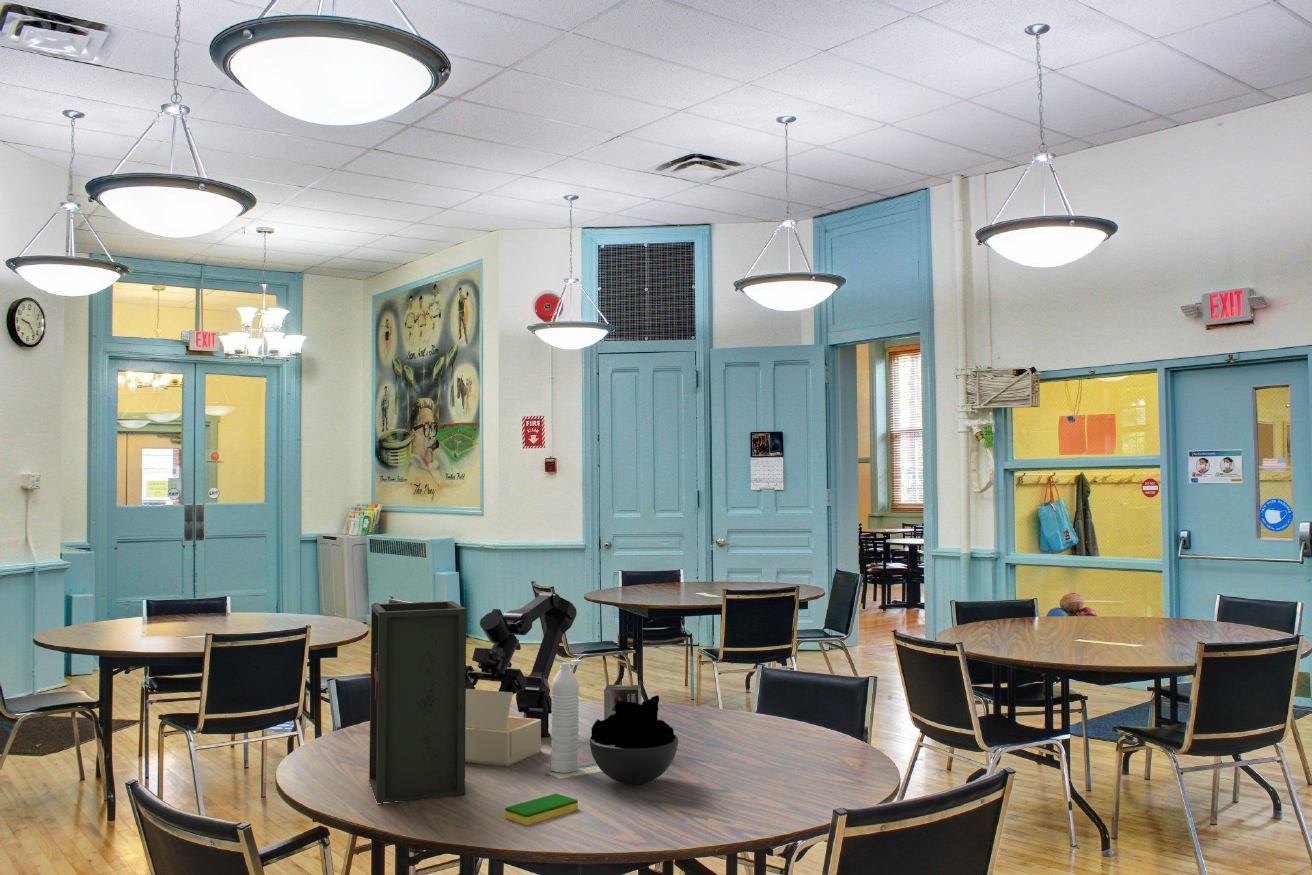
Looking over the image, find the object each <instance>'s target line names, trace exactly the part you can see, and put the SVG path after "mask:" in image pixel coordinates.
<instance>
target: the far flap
mask: <svg viewBox="0 0 1312 875" xmlns="http://www.w3.org/2000/svg"><path fill="white" fill-rule="evenodd" d="M513 696H514V695H513V693H512V692H500V691H498V690H485V689H477V688H475V689H466V721H465V727H475V728H485V729H495V730H506V725H507V721H508V716H509V715H510V710H511V704H512V701H513Z"/></svg>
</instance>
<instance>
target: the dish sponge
mask: <svg viewBox="0 0 1312 875" xmlns="http://www.w3.org/2000/svg"><path fill="white" fill-rule="evenodd" d="M578 801H579V800H578V799H576V798H573V797H570V796H566V795H563V794H559V793H553V794H549V795H546V796H542V797H539V798H535V799H532V800H528V801H524V802H520V803H516V804H513V805H509V806H505V807H504V810H505V811H504V818H505V819H507V820H509V821H513V822H515V823H516V822H517V823H519V824H522V825H526V826H528V825H532V824H534V823H537V822H542V821H544V820H549V819H552V818H554V817H557V816H561V815H564V814H565V815H566V814H567V813H570V812H571V813H572V812H574V811H578V808H579V807H578Z"/></svg>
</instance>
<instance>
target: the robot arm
mask: <svg viewBox="0 0 1312 875" xmlns="http://www.w3.org/2000/svg"><path fill="white" fill-rule="evenodd" d="M543 615H544V617H543V619H544V623H545V626H546V627H545V628H546V629H545V632H544V634H543V638H542V639H541V642H540V646H539V649H538V652H537V655H536V657H535V661H534V664H533V666H532V670H531V672H530V673H529V675H524V674H523V672H522V670H521V669H520V668H512V665H513V664H512V662H511V661H512V657H513V656H514V654H515V651H521V649H522V648H521V647H522V646H521V644H520V640H519V639H518V638H517V636H526V635H527V634H528V633H529V632H530V630H531V629H533V623H534V622H535V621H536V620H538V619H539V618H541V617H542V616H543ZM576 617H577V608H576V606H575V605H574V604H573V603H572V602H571V601H569V600H567V599H565V598H564V597H561V596H560V595H559V594H558V593H556V592H551V591H550V592H547V591H546V592H544V591H543V592H540V593H539V594H538V596H537V597H535V598H534V599H532V600H531V601H530V602H528V603H526V604H525V605H524V606H522V607H520V608H518V609H513V610H509V611H506V612H504V613H503V612H502V611H501V609H500V608H493V609H491V612H488V613H486V614H484V616H483V617H481V618H480V620H479V627H480V628H481V630H482V631H483V633H484V635H485V636H486V638H487V639H488V640H489V642H491V643H493V645H492V647H491V648H488V647H474V651H473V654H472V660H471V661H472V662H476V663H478V664H477V667H478V668H479V669H480V670H479V671H477V670H475V668H474V667H473V666H472V665H467V664H466V689H476V687H475V686H476V685H477V684H478V683H479V682H478V681H489V682H496V683H500V687H499V688H498V690H497V691H500V692H512V693H513V696H514V695H515V701H516V702H515V703H516V706H517V711H518V713H523V716H522V718H531V719H541V738H544V737H546V738H547V737H551V733H550V731H549V730H550V729H549V727H550V726H549V724H550V720H549V718H550V717H549V716H550V715H552V696H551V695H550V694H551V689H550V688H551V687H550V684H549V681H548V680H549V677H550V673H551V671H552V668H553V665H554V662H555V658H556V656H557V654H558V653H557V652H558V650H559V647H560V643H561V640H562V637H563V635H564V634H565V633H566V632H567V631H568V630H570V629H571V627H572V625H573V623H574V622H575V618H576Z"/></svg>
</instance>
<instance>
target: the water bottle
mask: <svg viewBox="0 0 1312 875" xmlns="http://www.w3.org/2000/svg"><path fill="white" fill-rule="evenodd" d="M571 665H573V666H578V665H579V666H580V665H582V659H571V660H570V662H560V666H559V670H558V672H557V673H556V674H555V676H554V678H553V679H552V682H551V685H550V686H551V687H550V688H551V689H550V691H551V698H552V713H551V718H550V719H551V720H550V721H551V722H550V723H551V733H550V737H551V743H550V744H551V751H550V752H551V754H550V755H551V756H550V757H551V761H550V762H551V763H550V768H551V771H552V772H555V773H563V774H567V773H574V772H576V771H578V770H579V765H580V759H579V754H580V753H579V752H580V750H579V748H580V744H579V739H580V734H579V731H580V729H579V727H580V726H579V722H580V720H579V719H580V718H579V714H580V713H579V703H580V702H579V689H580V687H579V686H580V684H579V683H580V682H579V680H578V679H577V676H576V675H575V674H574V672H573V671H572V669H571V667H572V666H571Z"/></svg>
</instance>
